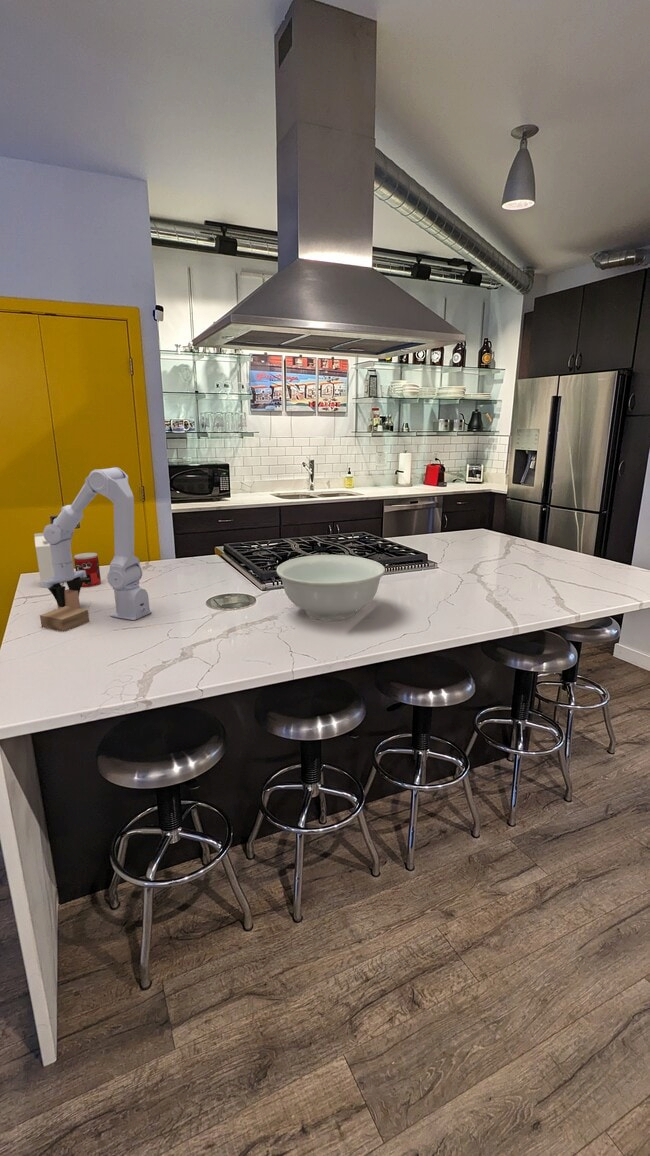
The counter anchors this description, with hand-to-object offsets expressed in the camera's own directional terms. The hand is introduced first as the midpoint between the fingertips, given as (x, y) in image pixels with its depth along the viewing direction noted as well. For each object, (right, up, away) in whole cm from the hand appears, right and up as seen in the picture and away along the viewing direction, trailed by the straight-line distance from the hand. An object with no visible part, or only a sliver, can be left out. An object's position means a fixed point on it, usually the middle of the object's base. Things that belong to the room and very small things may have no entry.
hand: (68, 604), depth 173 cm
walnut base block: (+5, -6, -12) cm, 14 cm away
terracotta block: (0, -1, 0) cm, 1 cm away
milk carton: (-19, +6, +29) cm, 36 cm away
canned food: (-6, +6, +28) cm, 30 cm away
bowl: (+82, -3, -4) cm, 83 cm away
